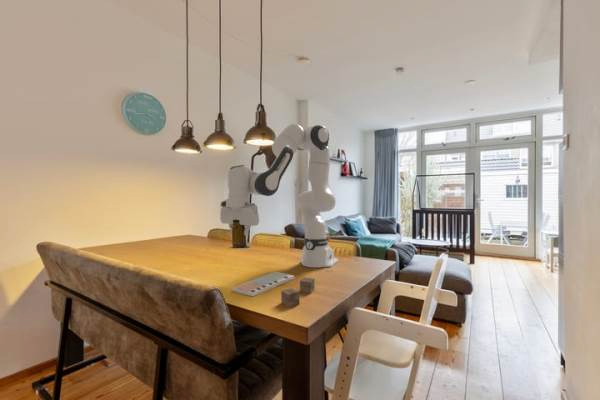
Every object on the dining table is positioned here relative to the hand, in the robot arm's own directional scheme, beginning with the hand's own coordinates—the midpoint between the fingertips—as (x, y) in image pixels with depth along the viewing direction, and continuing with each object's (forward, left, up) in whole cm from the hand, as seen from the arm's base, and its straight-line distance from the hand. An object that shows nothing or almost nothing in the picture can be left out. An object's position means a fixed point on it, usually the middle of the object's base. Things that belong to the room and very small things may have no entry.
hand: (239, 234), depth 123 cm
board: (-3, +12, -20) cm, 24 cm away
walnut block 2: (-6, +31, -20) cm, 37 cm away
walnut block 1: (+8, +33, -20) cm, 40 cm away
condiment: (0, +1, -5) cm, 6 cm away
